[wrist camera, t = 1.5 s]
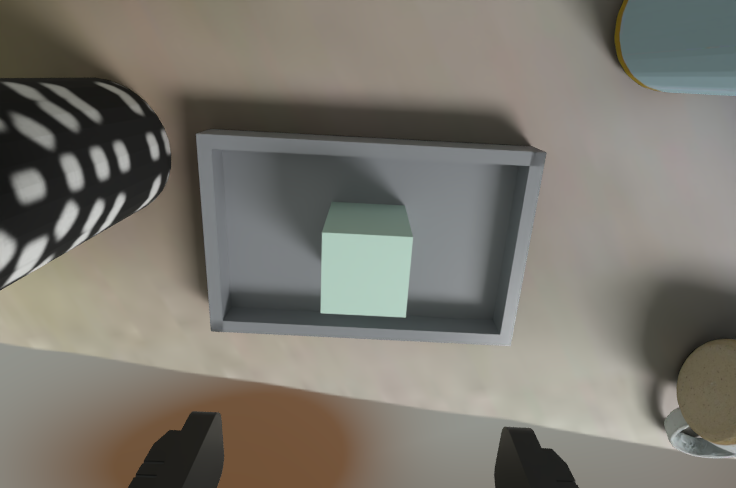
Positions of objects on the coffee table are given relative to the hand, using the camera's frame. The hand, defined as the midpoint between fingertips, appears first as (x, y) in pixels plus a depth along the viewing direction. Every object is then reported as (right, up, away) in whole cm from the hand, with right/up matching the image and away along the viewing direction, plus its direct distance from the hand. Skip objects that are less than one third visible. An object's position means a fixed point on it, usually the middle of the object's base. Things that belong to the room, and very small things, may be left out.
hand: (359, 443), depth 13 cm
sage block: (0, +6, +16) cm, 18 cm away
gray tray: (0, +6, +17) cm, 18 cm away
